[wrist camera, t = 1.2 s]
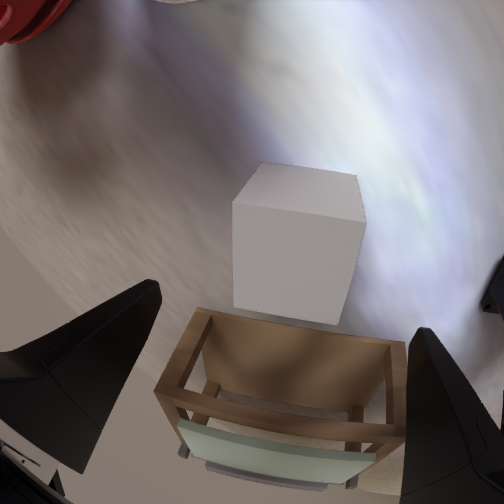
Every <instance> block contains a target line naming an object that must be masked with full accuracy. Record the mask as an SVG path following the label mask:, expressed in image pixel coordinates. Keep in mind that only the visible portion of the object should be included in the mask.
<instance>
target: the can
mask: <svg viewBox="0 0 504 504" xmlns="http://www.w3.org/2000/svg"><path fill="white" fill-rule="evenodd" d="M155 1H159V2H164V3H174V4H177V3H187V2H192V1H197V0H155Z"/></svg>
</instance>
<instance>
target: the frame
mask: <svg viewBox="0 0 504 504" xmlns="http://www.w3.org/2000/svg"><path fill="white" fill-rule="evenodd" d="M201 349H202V354H203V360H204V365H205V371H206V376H207V382H206V385H205V387H204V390H203V392H202V394H199V393H196V392H193V391H189V390H186V389H184V386H185V384H186V382H187V380H188V378H189V376H190V373H191V371H192V369H193V367H194V365H195V362H196V360H197V358H198V356H199V354H200V351H201ZM407 367H408V366H407V357H406V348H405V342H400V341H391V340H382V339H374V338H366V337H358V336H351V335H344V334H337V333H330V332H324V331H317V330H311V329H305V328H299V327H293V326H287V325H282V324H276V323H271V322H265V321H260V320H255V319H250V318H245V317H240V316H235V315H230V314H225V313H221V312H216V311H212V310H207V309H203V308H198V307H197V309H196V311H195V313H194V315H193V317H192V318H191V320H190V322H189V324H188V326H187V328H186V330H185V332H184V333H183V335H182V337H181V339H180V341H179V343H178V345H177V347H176V349H175V351H174V352H173V354H172V356H171V358H170V360H169V362H168V364H167V366H166V368H165V370H164V372H163V374H162V375H161V377H160V379H159V381H158V383H157V385H156V387H155V389H154V393H155V395H156V397H157V399H158V401H159V403H160V405H161V407H162V408H163V410H164V412H165V414H166V416H167V418H168V419H169V421H170V423H171V425H172V426H173V428H174V430H175V432H176V433H177V435H178V437H179V439H180V440H181V442H182V444H181V446H180V449H179V451H178V454H179V456H180V457H183V458H186V459H187V458H188V456H189V453H190V449H189V447H188V445H187V444H186V442H185V440H184V438H183V437H182V435H181V433H180V431H179V429H178V428H177V424H178V422H179V419H180V418H182V419H185V420H188V421H190V419H189V417H188V414H187V412H186V410H189V411H192V412H194V414H193V416H192V419H191V422H194V423H198V424H201V425H204V426H206V425H207V422H208V420H209V417H213V418H216V419H220V420H224V421H228V422H232V423H236V424H240V425H244V426H249V427H253V428H258V429H263V430H268V431H273V432H278V433H284V434H290V435H296V436H303V437H310V438H318V439H326V440H336V441H345V450H344V451H346V452H361V443H373V444H372V445H371V446H370V447H369V448H368V449H366V450H365V451H364V452H363V453H376V460H375V462H374V463H373V464H371V465H370V466H368V467H367V468H365V469H364V470H362V471H361V472H359V473H358V474H356V475H355V476H353V477H352V478H350V479H348V480H347V481H346V489H353V488H355V487H357V482H358V475H359V474H361V473H362V472H364V471H365V470H367V469H368V468H370V467H371V466H373V465H374V464H376V463H377V462H379V461H380V460H382V459H383V458H384V457H386V456H387V455H388V454H390V453H391V452H393V451H394V450H395V449H397V448H398V447H399V446H400V445H402V444H403V443H404V442H405V437H406V381H407ZM385 377H386V424H370V423H363V412H364V407H365V406H366V404H367V403H368V402H369V400H370V399H371V397H372V396H373V395H374V393H375V392H376V390H377V389H378V388H379V386H380V385H381V383H382V382H383V380H384V379H385ZM220 389H221V390H225V391H229V392H233V393H237V394H242V395H246V396H251V397H255V398H260V399H265V400H270V401H275V402H280V403H286V404H292V405H298V406H304V407H311V408H318V409H326V410H334V411H343V412H348V422H345V421H335V420H327V419H319V418H312V417H305V416H298V415H292V414H286V413H281V412H275V411H270V410H265V409H260V408H255V407H251V406H246V405H242V404H237V403H233V402H229V401H225V400H221V399H217V396H218V393H219V390H220Z"/></svg>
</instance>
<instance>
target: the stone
mask: <svg viewBox="0 0 504 504" xmlns="http://www.w3.org/2000/svg"><path fill="white" fill-rule="evenodd" d="M366 223H367V222H366V217H365V212H364V207H363V202H362V198H361V193H360V189H359V184H358V180H357V176H356V175H353V174H347V173H341V172H335V171H329V170H322V169H315V168H308V167H301V166H293V165H285V164H276V163H267V162H262V163H261V164H260V166H259V167H258V168H257V170H256V171H255V172H254V174H253V175H252V176H251V178H250V179H249V181H248V182H247V183H246V185H245V186H244V187H243V189H242V190H241V191H240V193H239V194H238V195H237V197H236V198H235V200H234V201H233V202H232V241H233V299H234V307H236V308H241V309H246V310H251V311H256V312H262V313H267V314H272V315H278V316H283V317H289V318H295V319H301V320H307V321H313V322H319V323H325V324H332V325H338V322H339V319H340V316H341V313H342V310H343V306H344V303H345V300H346V297H347V294H348V290H349V287H350V283H351V280H352V277H353V273H354V270H355V266H356V262H357V259H358V255H359V251H360V247H361V243H362V239H363V235H364V231H365V227H366Z"/></svg>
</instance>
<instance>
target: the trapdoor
mask: <svg viewBox="0 0 504 504" xmlns="http://www.w3.org/2000/svg"><path fill="white" fill-rule="evenodd" d="M177 428H178V429H179V431H180V433H181V435H182V437H183V438H184V440H185V442H186V444H187V445H188V447H189V449H190V451H191V452H192V454H191V456H192V457H195V458H198V459H201V460H205V461H206V463H205V466H206V468H207V470H209V471H213V472H216V473H219V474H223V475H227V476H231V477H235V478H239V479H243V480H248V481H253V482H257V483H263V484H268V485H274V486H280V487H286V488H294V489H301V490H309V491H320V492H321V491H323V490H325V489H327V485H328V484H339V485H343V484H344V482H345V481H347V480H348V479H350V478H352V477H353V476H355V475H356V474H358V473H359V472H361V471H362V470H364V469H365V468H367V467H368V466H370V465H371V464H373V463H374V462H375V460H376V453H363V452H346V451H334V450H324V449H316V448H308V447H301V446H294V445H288V444H282V443H276V442H271V441H266V440H261V439H256V438H251V437H247V436H242V435H238V434H234V433H230V432H226V431H222V430H218V429H214V428H211V427H207V426H204V425H201V424H198V423H194V422H191V421H188V420H185V419H182V418H180V419H179V422H178V424H177Z"/></svg>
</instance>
